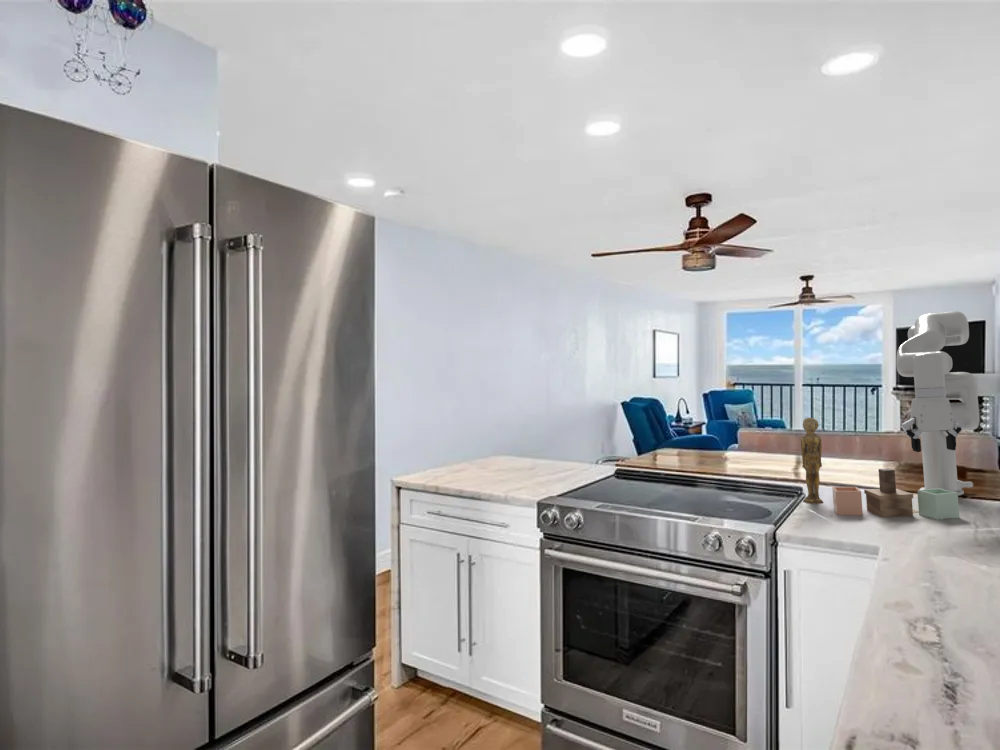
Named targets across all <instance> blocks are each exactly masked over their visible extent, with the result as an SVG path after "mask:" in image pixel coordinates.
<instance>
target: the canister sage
mask: <svg viewBox="0 0 1000 750" xmlns="http://www.w3.org/2000/svg"><path fill="white" fill-rule="evenodd" d="M916 492H917V503H918V504H917V505H918V511H919V513H918V515H920V516H923V517H927V518H929V519H933V518H934V519H933V520H936V519H940V520H944V519H943V518H952V519H959V518H960V508H959V496H958V493H957V492H953V491H948V490H944V489H939V488H938V489H926V490H920V489H917V491H916Z"/></svg>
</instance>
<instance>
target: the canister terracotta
mask: <svg viewBox="0 0 1000 750" xmlns="http://www.w3.org/2000/svg"><path fill="white" fill-rule="evenodd" d="M832 500H833V501H832V504H833V511H834V512H835V513H836V515H837V516H839V515H840V516H863V515H864V514H863V511H864V510H863V501H862V500H863V498H862V490H860V488H859V487H857V486H832Z"/></svg>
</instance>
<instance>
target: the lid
mask: <svg viewBox="0 0 1000 750" xmlns="http://www.w3.org/2000/svg"><path fill="white" fill-rule="evenodd" d="M878 482H879V483H878V484H879V488H871V489H864V490H863V491H864V492H863V493H864V494H865V495H866V494H867V495H870V496H872V497H875V498H877V499H880V500H882V499H905V498H912V499H914V494H913V493H911V492H908V491H906V490H905V491H904V490H903V489H902V490H901V489H899V488H897V483H896V470H895V469H893V468H878Z"/></svg>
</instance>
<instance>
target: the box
mask: <svg viewBox="0 0 1000 750" xmlns="http://www.w3.org/2000/svg"><path fill="white" fill-rule="evenodd" d="M865 502H866V511H867V512H869V513H872V514H873V515H877V516H878V517H881V518H890V517H891V518H893V517H896V518H897V517H914V513H913V510H914V509H913V498H905V499H882V500H880V499H877V498H875V497H872V496H870V495H867V494H865Z"/></svg>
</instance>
